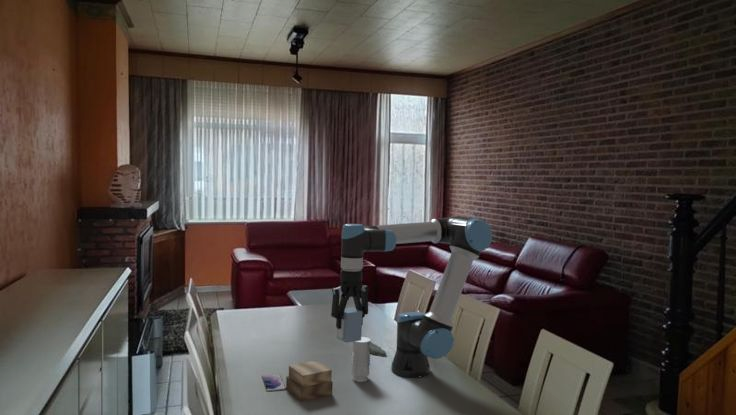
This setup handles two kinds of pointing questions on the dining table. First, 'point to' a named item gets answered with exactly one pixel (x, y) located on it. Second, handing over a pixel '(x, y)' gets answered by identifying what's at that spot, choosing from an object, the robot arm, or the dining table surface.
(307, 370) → the tower top
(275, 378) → the smartphone
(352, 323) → the blue block
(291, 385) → the block
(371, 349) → the stone
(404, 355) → the robot arm
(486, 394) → the dining table surface
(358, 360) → the candle
